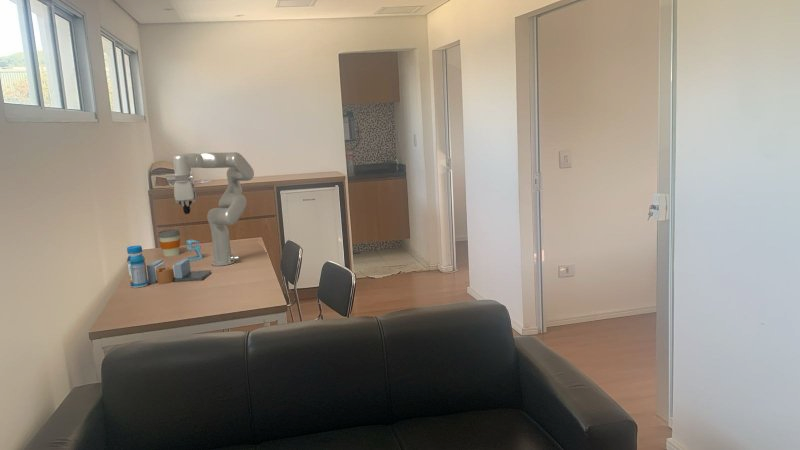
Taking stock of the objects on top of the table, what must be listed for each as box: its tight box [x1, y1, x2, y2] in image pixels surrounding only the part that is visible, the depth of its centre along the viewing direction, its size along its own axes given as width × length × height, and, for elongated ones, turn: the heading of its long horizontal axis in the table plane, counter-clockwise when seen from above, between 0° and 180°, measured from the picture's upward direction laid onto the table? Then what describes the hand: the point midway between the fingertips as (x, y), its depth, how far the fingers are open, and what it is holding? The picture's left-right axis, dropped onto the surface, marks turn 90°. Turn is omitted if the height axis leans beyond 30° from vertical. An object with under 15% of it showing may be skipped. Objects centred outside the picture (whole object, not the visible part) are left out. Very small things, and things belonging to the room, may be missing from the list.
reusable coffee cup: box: [157, 229, 181, 258], centre depth 384 cm, size 13×13×15 cm
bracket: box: [156, 266, 176, 285], centre depth 319 cm, size 18×8×7 cm, turn 179°
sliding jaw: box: [172, 258, 191, 278], centre depth 320 cm, size 4×13×7 cm, turn 0°
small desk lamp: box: [185, 239, 203, 262], centre depth 367 cm, size 8×8×12 cm
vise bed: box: [174, 269, 212, 283], centre depth 321 cm, size 14×16×2 cm
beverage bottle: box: [126, 244, 149, 289], centre depth 308 cm, size 8×8×20 cm
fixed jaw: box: [146, 259, 166, 284], centre depth 320 cm, size 4×13×9 cm, turn 0°
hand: (187, 213), depth 325 cm, fingers closed
